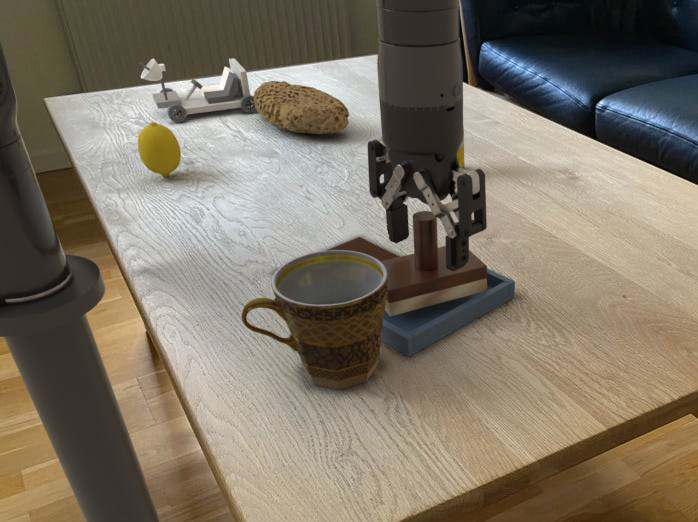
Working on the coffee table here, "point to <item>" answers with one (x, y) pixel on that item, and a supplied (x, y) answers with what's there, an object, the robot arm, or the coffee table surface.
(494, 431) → the coffee table surface
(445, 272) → the brush
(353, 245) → the brown rectangular plate
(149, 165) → the lemon
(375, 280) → the ceramic cup
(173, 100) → the toy car
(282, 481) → the coffee table surface
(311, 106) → the sponge
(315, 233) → the coffee table surface
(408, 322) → the tray
